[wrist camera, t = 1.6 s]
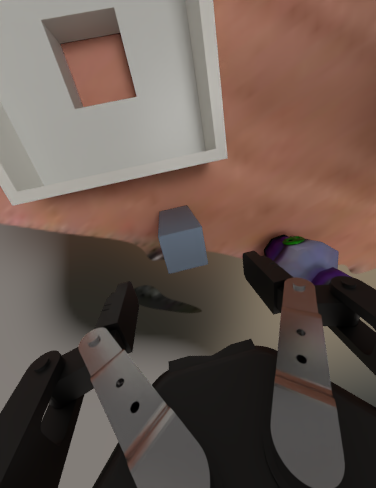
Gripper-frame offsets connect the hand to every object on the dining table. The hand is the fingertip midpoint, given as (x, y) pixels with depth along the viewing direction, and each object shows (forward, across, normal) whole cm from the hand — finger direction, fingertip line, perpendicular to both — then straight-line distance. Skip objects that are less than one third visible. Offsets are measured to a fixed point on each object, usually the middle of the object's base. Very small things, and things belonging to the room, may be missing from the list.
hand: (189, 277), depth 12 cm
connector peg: (+14, 0, 0) cm, 15 cm away
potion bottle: (+14, -16, +9) cm, 24 cm away
